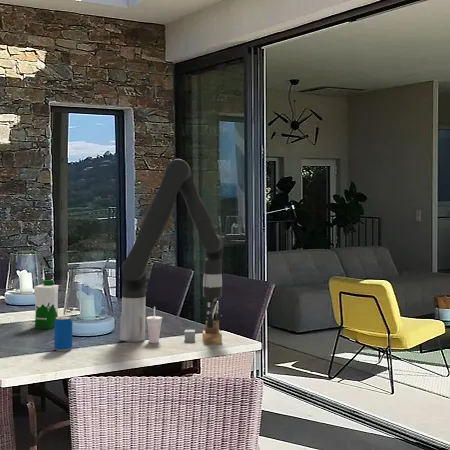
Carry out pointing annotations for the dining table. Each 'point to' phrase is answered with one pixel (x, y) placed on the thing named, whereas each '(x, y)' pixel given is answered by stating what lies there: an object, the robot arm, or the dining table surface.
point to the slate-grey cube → (189, 335)
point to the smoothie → (154, 327)
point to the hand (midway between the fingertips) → (212, 325)
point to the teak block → (212, 338)
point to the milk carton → (46, 304)
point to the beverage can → (63, 333)
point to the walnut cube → (215, 327)
